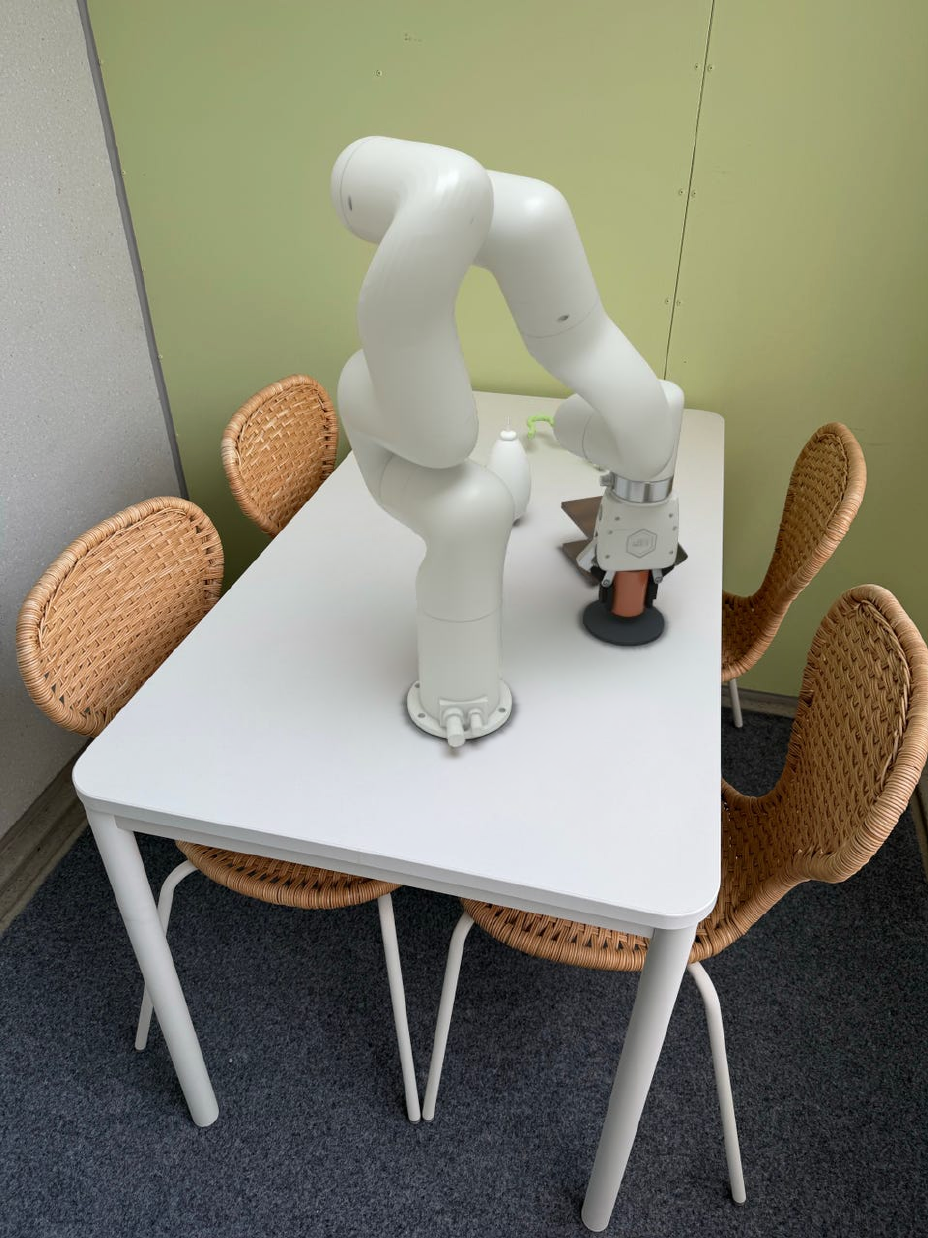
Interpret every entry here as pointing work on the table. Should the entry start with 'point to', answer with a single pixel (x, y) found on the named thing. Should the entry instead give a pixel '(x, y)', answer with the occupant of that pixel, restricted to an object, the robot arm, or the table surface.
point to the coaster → (623, 625)
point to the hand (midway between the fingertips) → (626, 603)
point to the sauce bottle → (512, 468)
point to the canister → (629, 592)
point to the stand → (582, 528)
